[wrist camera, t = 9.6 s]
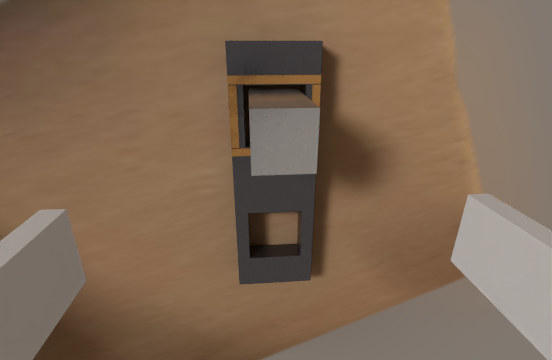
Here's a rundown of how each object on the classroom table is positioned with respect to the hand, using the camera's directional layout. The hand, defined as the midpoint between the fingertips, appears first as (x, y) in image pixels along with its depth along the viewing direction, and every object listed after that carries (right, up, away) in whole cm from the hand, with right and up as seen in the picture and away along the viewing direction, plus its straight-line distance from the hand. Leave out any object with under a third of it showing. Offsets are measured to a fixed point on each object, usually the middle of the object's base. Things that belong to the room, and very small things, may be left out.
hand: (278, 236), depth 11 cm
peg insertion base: (0, +3, +26) cm, 26 cm away
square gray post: (0, +9, +23) cm, 25 cm away
